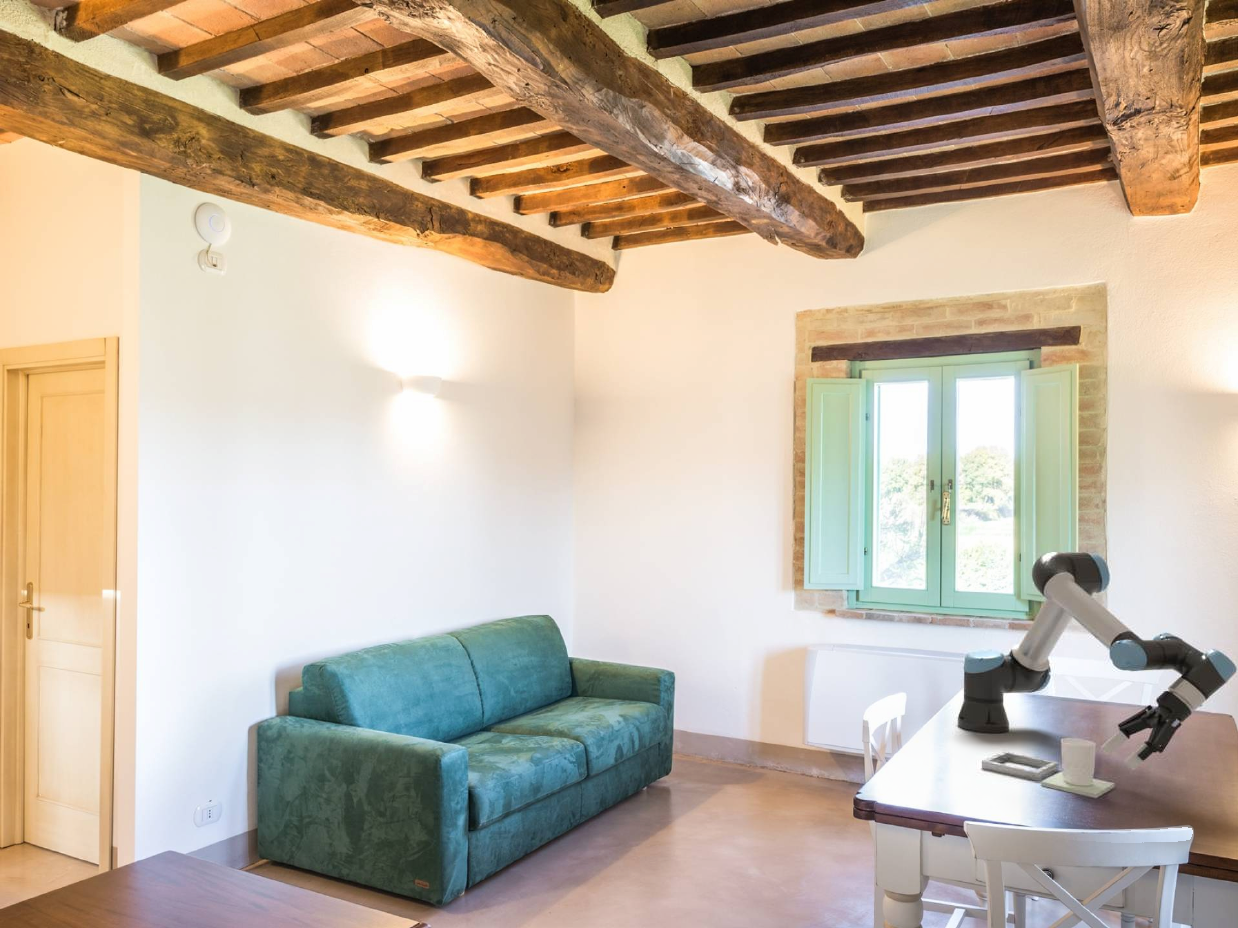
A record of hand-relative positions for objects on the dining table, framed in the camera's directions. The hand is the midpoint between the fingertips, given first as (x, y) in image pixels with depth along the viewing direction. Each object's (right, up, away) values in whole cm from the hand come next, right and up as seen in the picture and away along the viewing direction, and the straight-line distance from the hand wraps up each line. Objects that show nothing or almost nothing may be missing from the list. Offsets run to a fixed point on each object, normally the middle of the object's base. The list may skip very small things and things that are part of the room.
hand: (1116, 758), depth 238 cm
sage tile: (-9, -7, +1) cm, 12 cm away
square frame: (-18, -7, +15) cm, 24 cm away
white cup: (-9, -6, +1) cm, 11 cm away
